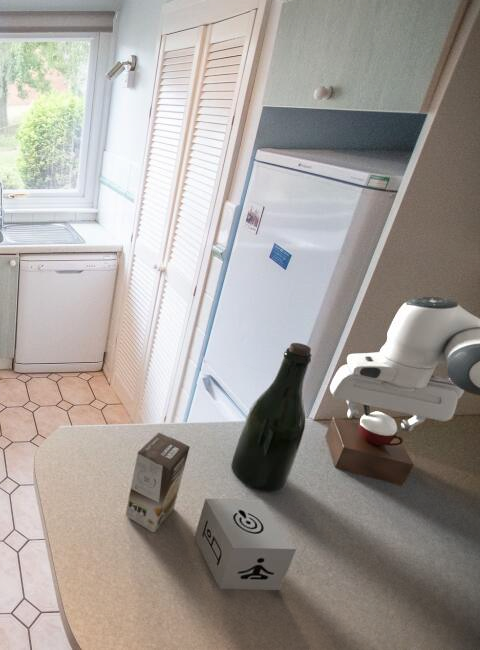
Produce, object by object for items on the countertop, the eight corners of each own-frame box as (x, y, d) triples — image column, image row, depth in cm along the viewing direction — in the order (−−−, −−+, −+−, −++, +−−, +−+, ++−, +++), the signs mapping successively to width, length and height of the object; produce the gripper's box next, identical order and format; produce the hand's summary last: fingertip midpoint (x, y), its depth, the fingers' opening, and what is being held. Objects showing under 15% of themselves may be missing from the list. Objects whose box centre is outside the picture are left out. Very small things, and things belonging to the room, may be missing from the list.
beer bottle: (295, 484, 98) (346, 351, 85) (265, 501, 94) (314, 364, 81) (249, 454, 107) (289, 329, 93) (219, 468, 103) (257, 340, 89)
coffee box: (155, 534, 87) (170, 470, 80) (124, 515, 91) (136, 453, 84) (175, 507, 93) (190, 446, 86) (145, 490, 97) (158, 430, 90)
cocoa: (402, 452, 99) (425, 407, 94) (376, 454, 98) (397, 409, 93) (364, 424, 107) (382, 382, 102) (339, 426, 107) (357, 383, 102)
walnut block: (386, 451, 108) (396, 431, 105) (402, 486, 98) (414, 464, 95) (324, 436, 113) (332, 416, 110) (334, 467, 103) (343, 447, 100)
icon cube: (194, 537, 86) (205, 498, 82) (247, 539, 86) (261, 500, 82) (219, 588, 77) (233, 547, 73) (279, 590, 77) (296, 549, 73)
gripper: (461, 374, 93) (433, 428, 99) (339, 352, 102) (320, 403, 108) (475, 390, 88) (445, 446, 94) (346, 365, 97) (325, 418, 103)
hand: (377, 423), depth 101 cm, fingers open, 8 cm apart
